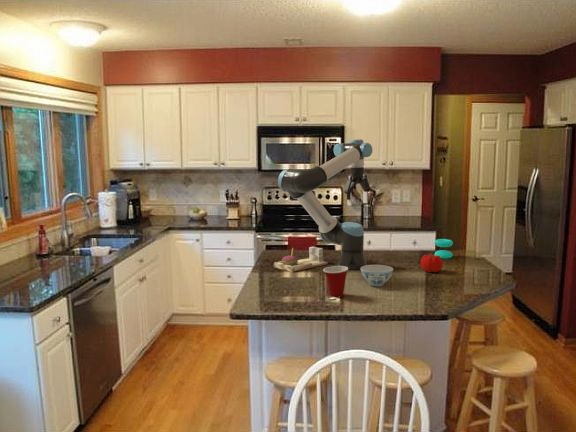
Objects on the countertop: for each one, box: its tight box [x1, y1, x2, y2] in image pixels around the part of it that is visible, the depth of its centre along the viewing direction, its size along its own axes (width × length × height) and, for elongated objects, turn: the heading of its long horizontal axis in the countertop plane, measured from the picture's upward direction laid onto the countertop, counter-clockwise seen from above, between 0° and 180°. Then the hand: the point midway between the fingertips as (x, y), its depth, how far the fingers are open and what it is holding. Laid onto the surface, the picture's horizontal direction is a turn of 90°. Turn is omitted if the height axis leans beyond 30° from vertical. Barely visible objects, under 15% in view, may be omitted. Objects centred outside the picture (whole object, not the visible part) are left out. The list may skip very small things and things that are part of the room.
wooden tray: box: [273, 246, 329, 273], centre depth 269 cm, size 15×26×8 cm, turn 130°
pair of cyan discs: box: [433, 238, 454, 260], centre depth 285 cm, size 10×10×10 cm
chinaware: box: [360, 264, 394, 287], centre depth 230 cm, size 15×15×8 cm
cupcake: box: [281, 247, 299, 266], centre depth 264 cm, size 9×8×12 cm
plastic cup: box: [322, 265, 349, 298], centre depth 214 cm, size 11×11×12 cm
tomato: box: [419, 253, 444, 273], centre depth 252 cm, size 11×11×9 cm
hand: (357, 204), depth 283 cm, fingers open, 13 cm apart
